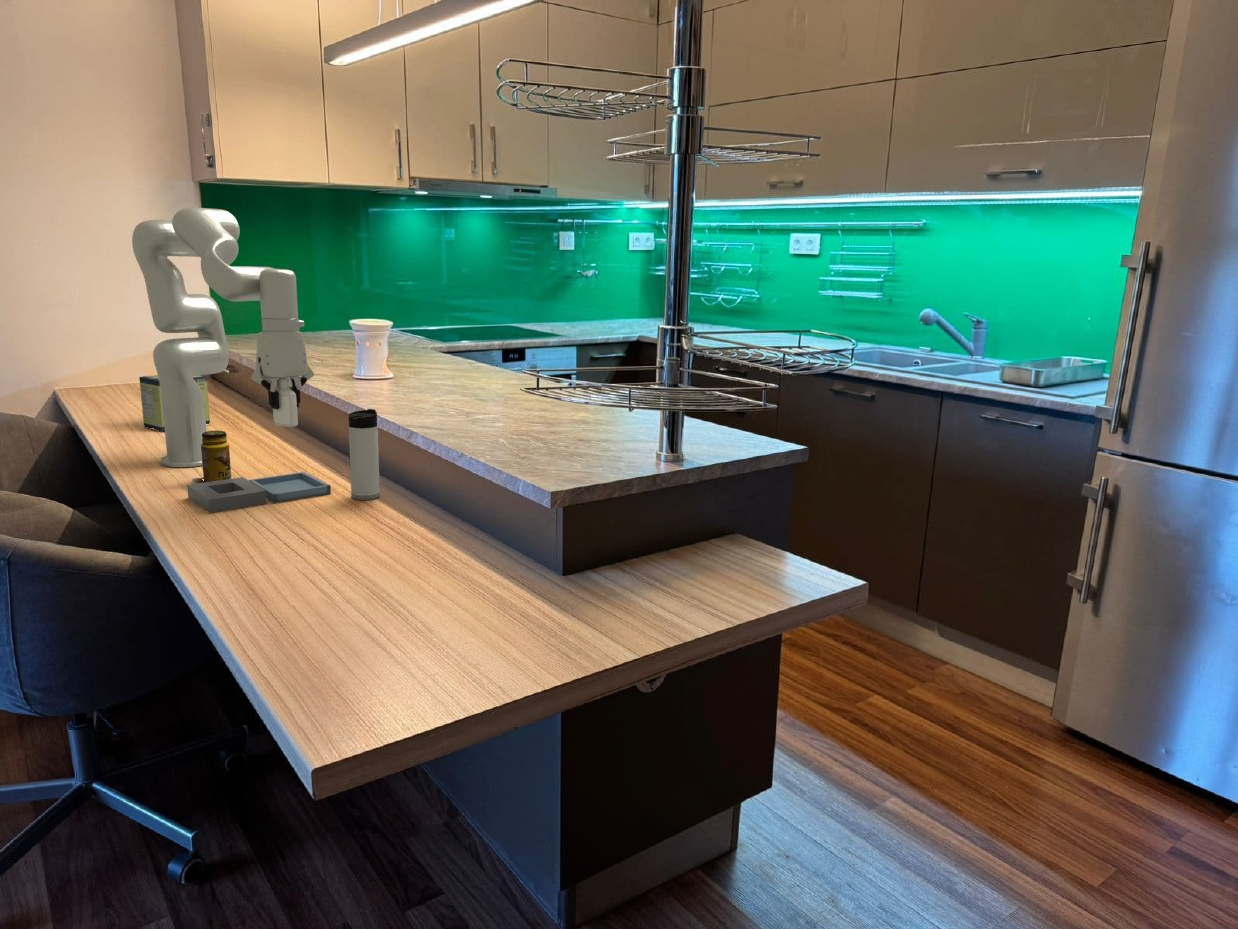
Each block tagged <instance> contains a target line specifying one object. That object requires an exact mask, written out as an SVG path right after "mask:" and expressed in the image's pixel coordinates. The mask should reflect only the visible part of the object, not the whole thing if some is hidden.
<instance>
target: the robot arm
mask: <svg viewBox="0 0 1238 929" xmlns="http://www.w3.org/2000/svg"><path fill="white" fill-rule="evenodd" d="M240 233H241V230H240V225H239V223H238V220H237V218H236V217H235V216H234V215H233V214H232V213H230V212H229V211H227V210H226V209H219V208H208V207H207V208H206V207H205V208H204V207H196V206H195V207H194V206H193V207H192V206H191V207H185V208H182V209H179V210H178V211H177V212H176V213H174V215H173V216H172V219H149V220H144V221H141V222H139V223H137V225H135V227H134V229H133V231H132V237H131V239H132V240H131V246H132V250H133V255H134V256H135V260H136V262H137V263H138V266H139V268H140V271H141V273H142V275H143V278H144V282H145V289H146V293H147V298H148V302H149V304H148V305H149V308H150V313H151V318H152V321H153V325H154V326H155V328H156V329H157V330H158V331H160V332H161V333H165V334H184V333H185V334H186V333H197V336H198V337H197V336H196V337H181V338H180V337H179V338H169V339H166V340H163V341H160V342H159V343H157V344H156V345H155V347H154V349H153V352H152V359H153V363H154V366H155V369H156V370H155V371H156V373H157V374H156V375H158V378H159V382H160V388H161V397H162V407H163V417H164V428H165V432H164V436H165V446H166V447H165V448H166V455H165V456H162V457H161V458H160V464H161V465H162V466H165V467H169V468H190V467H191V468H192V467H193V468H194V467H200V466H203V465H202V453H201V445H202V443H203V442H202V439H203V438H202V433H204V432H207V426H206V419H205V406H204V396H203V392H202V390H201V388H200V387H199V385H198V384H197V383H196V382H195V381H194V379H193V376H197V375H205V376H206V375H213V374H215V375H216V374H219V373H222V372H224V371H225V370H226V369H227V367H228V365H229V361H230V360H229V359H230V358H229V348H228V342H227V338H226V332H225V327H224V322H223V321H224V320H223V316H222V312H221V309H220V307H219V305H218V303H217V301H216V300H215V299H214V298H213V297H212V296H210V295H207V294H202V293H192V294H191V293H188V292H187V290H186V286H185V279H184V276H183V274H182V272H181V270H180V269H179V268H178V267H177V266H176V265H175V263H174V262H172V261H171V260H170V259H169V258H168V257H187V258H188V257H189V258H190V257H191V258H193V257H194V258H195V257H196V258H200V270H201V274H202V277H203V280H204V282H205V283H206V285H208V286H209V288H211V290H213V291H214V292H215V293H216V294H217V296H219V297H221V298H222V299H224V300H227V301H230V302H253V301H254V302H260V312H261V313H260V314H261V327H262V330H261V331H260V332H258V334H257V340H256V351H255V352H256V355H255V356H256V357H255V358H256V359H255V364H256V366H255V370H254V371H253V373H252V375H251V376H250V379H251V380H252V381H254V382H256V383H258V384H259V385H261V386H262V387H263V388H265V389H266V391H267V394H268V404H269V406H270V408H271V409H272V410H273V409H279V393H278V392H277V391H276V389H277V385H278V383H277V379H279V378H284V377H286V378H289V381H290V385H291V388H290V387H289V389H290V390H292V391H294V392H295V394H296V401H297V408H300V404H301V390H302V388H303V387H304V385H305V384H306V383H307V382H308V381H309V380H310V379H312V378H314V376H315V374H314V372H313V369H311V367H310V366H309V365H308V358H307V357H308V356H307V352H306V351H307V350H306V349H307V348H306V345H305V341H304V337H303V333H302V331H300V328H301V327H305V321H304V320H303V319H302V320H300V317H299V312H298V311H299V310H298V309H299V308H298V292H297V277H296V274H295V272H294V271H293V270H289V269H285V268H284V269H283V268H281V269H280V268H274V267H270V266H251V265H248V266H247V265H246V266H243V265H240V266H233V265H232V263H233V262H234V261H235V260H236V259H237V257H238V254H239V250H240V249H239V244H238V240H239V237H240ZM231 265H232V266H231ZM262 377H265V378H266V379H264V378H262Z"/></svg>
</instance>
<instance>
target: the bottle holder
mask: <svg viewBox="0 0 1238 929" xmlns="http://www.w3.org/2000/svg"><path fill="white" fill-rule="evenodd" d="M186 487H187V488H186V489H187V499H189V500H190V501H191V500H192V501H191V502H193V503H194V504H196V505H197V506H198V507H200V508H202V509H203V510H204V511H205V512H207V513H208V514H215V513H222V512H226V511H233V510H238V509H244V507H245V508H250V507H257V506H263V505H267V504H268V503H267V502H268V499H267V498H266V491H265V490H264V489H262V488H260V487H259V486H257V485H255V484H253V483H252V482H250V481H249V479H247V478H245V477H243V476H241V477H235V478H232V479H226V480H219V481H212V482H205V483H198V484H194V483H193V484H187V485H186Z"/></svg>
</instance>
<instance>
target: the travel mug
mask: <svg viewBox="0 0 1238 929" xmlns="http://www.w3.org/2000/svg"><path fill="white" fill-rule="evenodd" d="M378 429H379V428H378V412H377V411H376V409H374V408H373V409H372V408H368V409H364V410H363V409H361V410H356V411H352V412H350V413H349V414H348V444H349V469H350V490H351V492H350V495H351V498H352V499H354V500H357V501H371V500H372V501H373V500H376V499H378V498H379V497H380V496H381V495H380V492H381V491H380V490H381V489H380V467H379V466H380V464H379V461H380V460H379V432H378V431H379V430H378ZM377 497H378V498H377ZM375 498H376V499H375Z"/></svg>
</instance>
